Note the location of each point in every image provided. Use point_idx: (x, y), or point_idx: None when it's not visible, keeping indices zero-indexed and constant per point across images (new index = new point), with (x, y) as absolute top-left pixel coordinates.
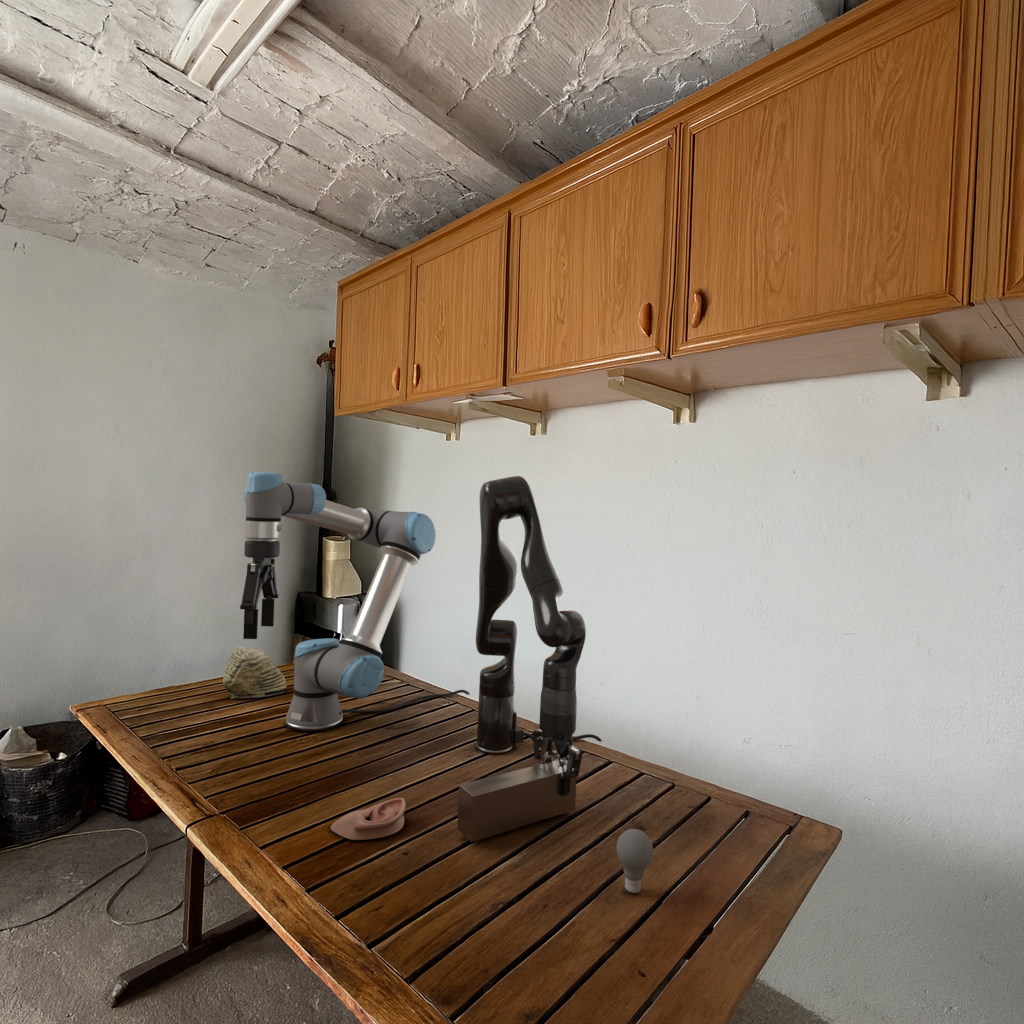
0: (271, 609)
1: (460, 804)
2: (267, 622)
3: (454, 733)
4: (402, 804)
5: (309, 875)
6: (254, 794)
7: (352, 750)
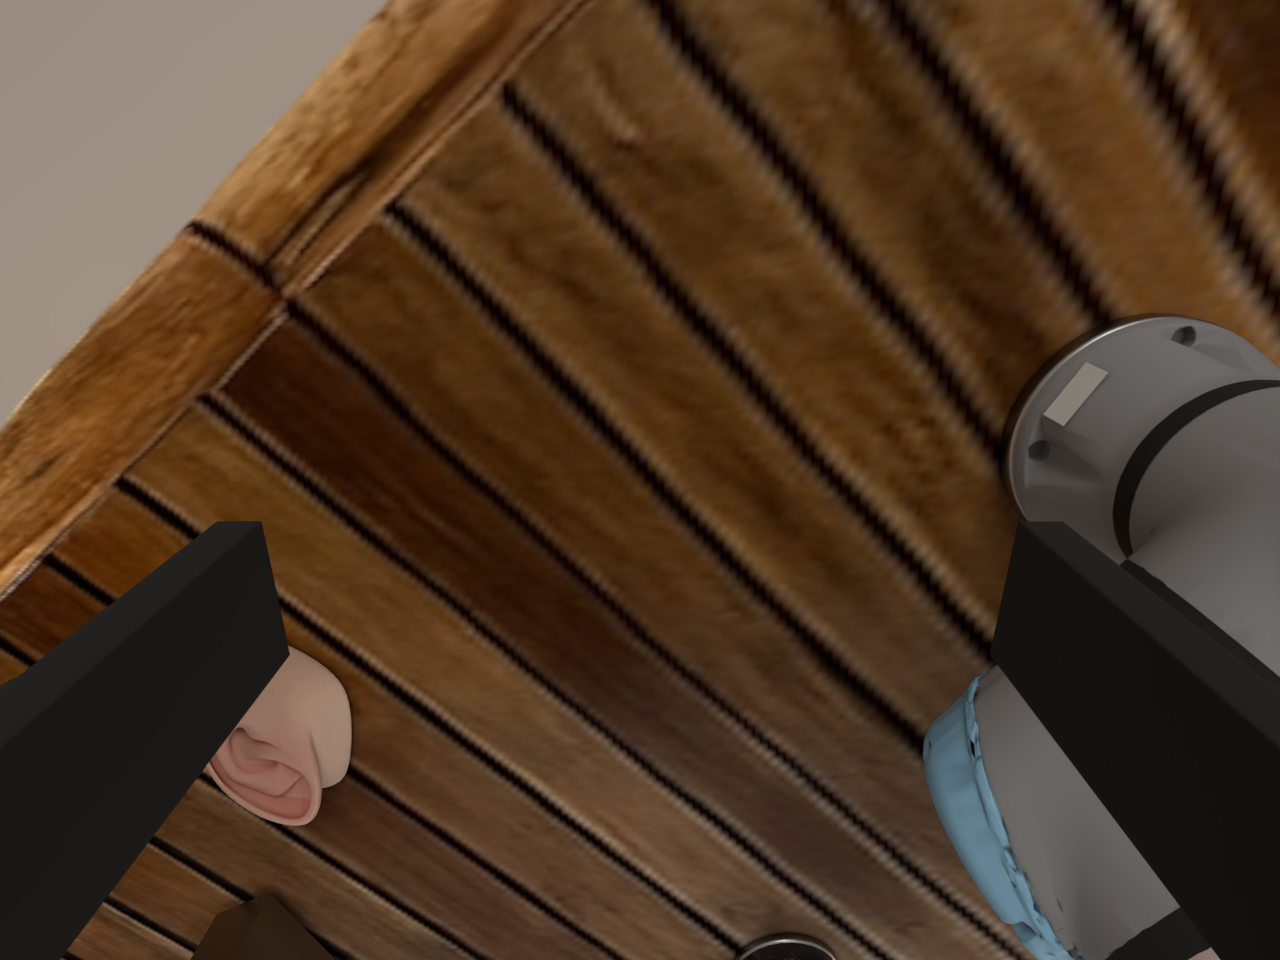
0: (1135, 816)
1: (227, 958)
2: (1028, 625)
3: (912, 884)
4: (280, 820)
5: (32, 618)
6: (431, 373)
7: (795, 616)
